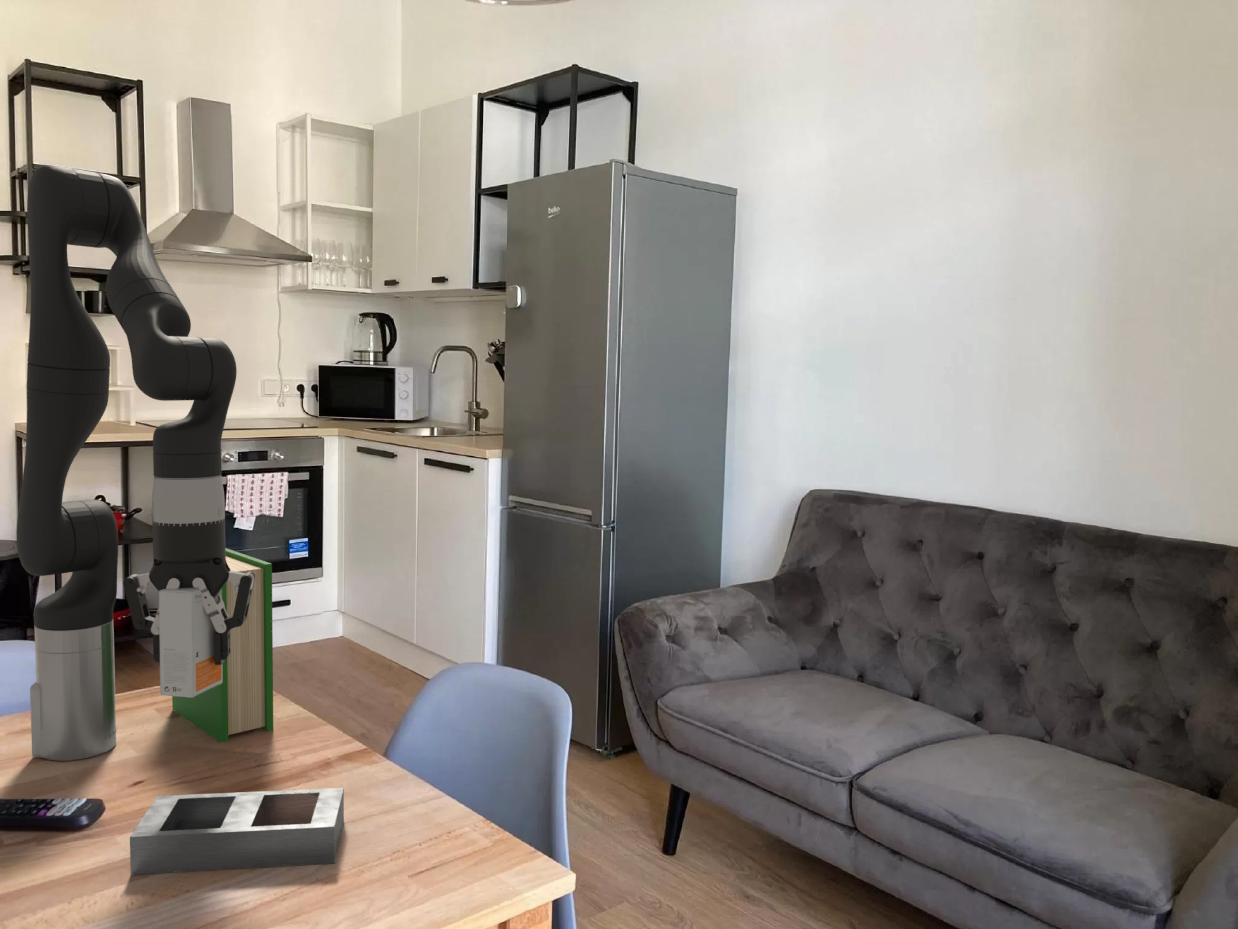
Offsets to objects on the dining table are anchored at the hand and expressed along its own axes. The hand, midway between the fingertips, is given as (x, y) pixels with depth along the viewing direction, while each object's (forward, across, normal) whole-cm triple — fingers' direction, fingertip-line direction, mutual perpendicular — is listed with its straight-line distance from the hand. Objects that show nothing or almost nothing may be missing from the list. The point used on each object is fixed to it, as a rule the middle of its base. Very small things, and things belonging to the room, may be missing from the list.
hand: (192, 663), depth 117 cm
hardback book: (+18, +4, -32) cm, 37 cm away
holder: (+18, -7, +9) cm, 21 cm away
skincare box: (+3, 0, 0) cm, 3 cm away
